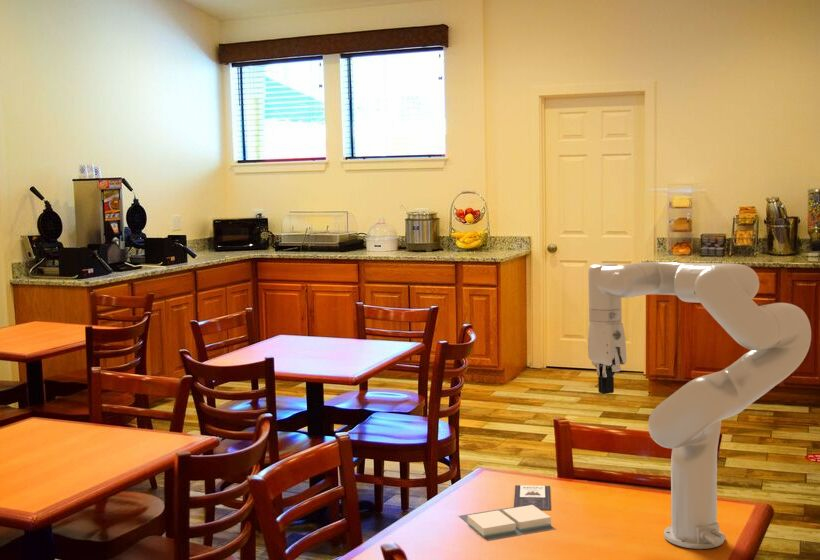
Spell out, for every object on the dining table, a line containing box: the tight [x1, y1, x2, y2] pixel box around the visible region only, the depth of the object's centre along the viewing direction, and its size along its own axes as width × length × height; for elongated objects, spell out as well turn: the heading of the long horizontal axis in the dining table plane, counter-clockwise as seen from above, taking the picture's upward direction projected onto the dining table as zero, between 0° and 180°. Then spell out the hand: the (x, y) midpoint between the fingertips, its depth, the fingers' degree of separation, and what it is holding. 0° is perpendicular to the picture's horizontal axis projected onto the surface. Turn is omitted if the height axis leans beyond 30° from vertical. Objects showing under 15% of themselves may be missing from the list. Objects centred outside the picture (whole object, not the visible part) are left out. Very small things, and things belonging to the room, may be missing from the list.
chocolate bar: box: [513, 484, 552, 511], centre depth 223 cm, size 9×1×18 cm
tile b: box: [466, 509, 516, 538], centre depth 203 cm, size 2×8×9 cm
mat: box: [458, 506, 556, 542], centre depth 206 cm, size 17×17×1 cm
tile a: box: [502, 505, 552, 531], centre depth 206 cm, size 2×8×9 cm
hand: (606, 392), depth 209 cm, fingers closed
